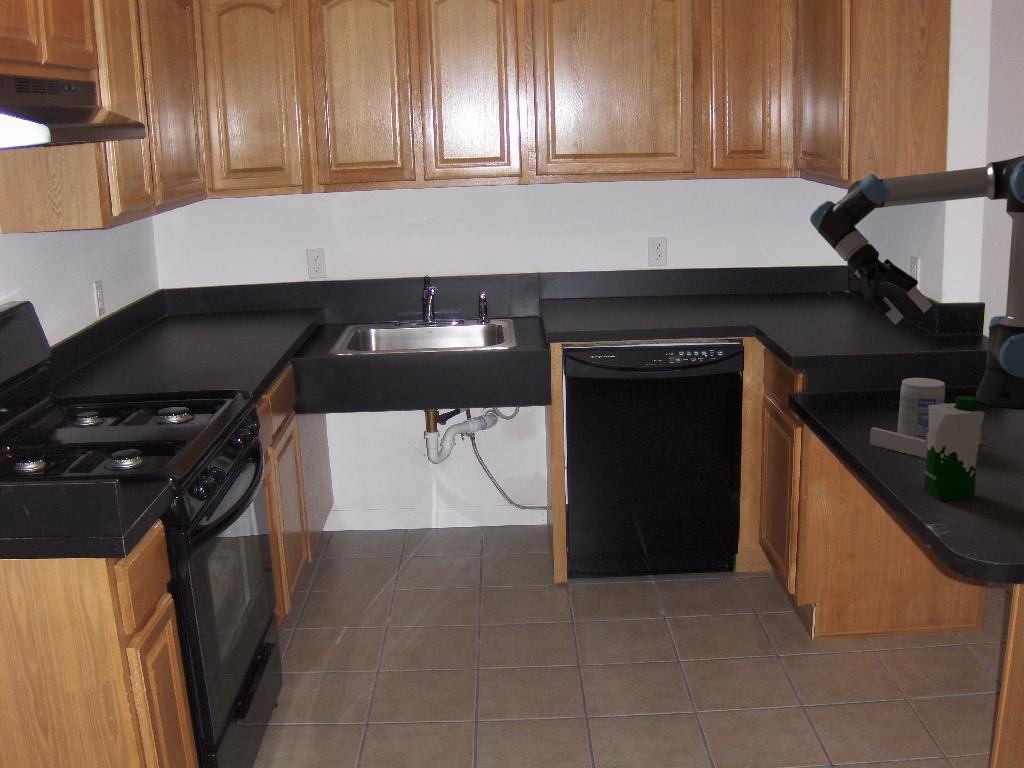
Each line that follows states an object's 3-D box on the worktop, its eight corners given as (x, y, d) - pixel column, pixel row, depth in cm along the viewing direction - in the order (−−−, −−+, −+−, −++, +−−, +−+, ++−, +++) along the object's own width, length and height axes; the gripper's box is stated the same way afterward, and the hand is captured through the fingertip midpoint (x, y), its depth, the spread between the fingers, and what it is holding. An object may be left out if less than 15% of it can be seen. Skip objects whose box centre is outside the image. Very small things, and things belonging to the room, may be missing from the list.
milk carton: (981, 501, 205) (990, 403, 200) (936, 503, 204) (944, 404, 200) (959, 486, 214) (967, 392, 209) (916, 488, 213) (924, 393, 208)
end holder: (869, 444, 243) (871, 419, 241) (909, 432, 251) (911, 409, 250) (928, 460, 231) (930, 434, 229) (968, 447, 239) (970, 422, 238)
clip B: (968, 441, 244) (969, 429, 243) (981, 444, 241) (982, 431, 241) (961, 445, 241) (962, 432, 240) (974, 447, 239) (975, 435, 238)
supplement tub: (920, 451, 235) (924, 388, 231) (887, 441, 243) (891, 380, 239) (950, 445, 239) (955, 383, 236) (917, 435, 247) (921, 375, 244)
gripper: (875, 254, 274) (930, 313, 266) (820, 271, 259) (877, 335, 251) (893, 234, 269) (949, 294, 261) (838, 251, 254) (896, 315, 246)
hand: (914, 314), depth 256 cm, fingers open, 13 cm apart
